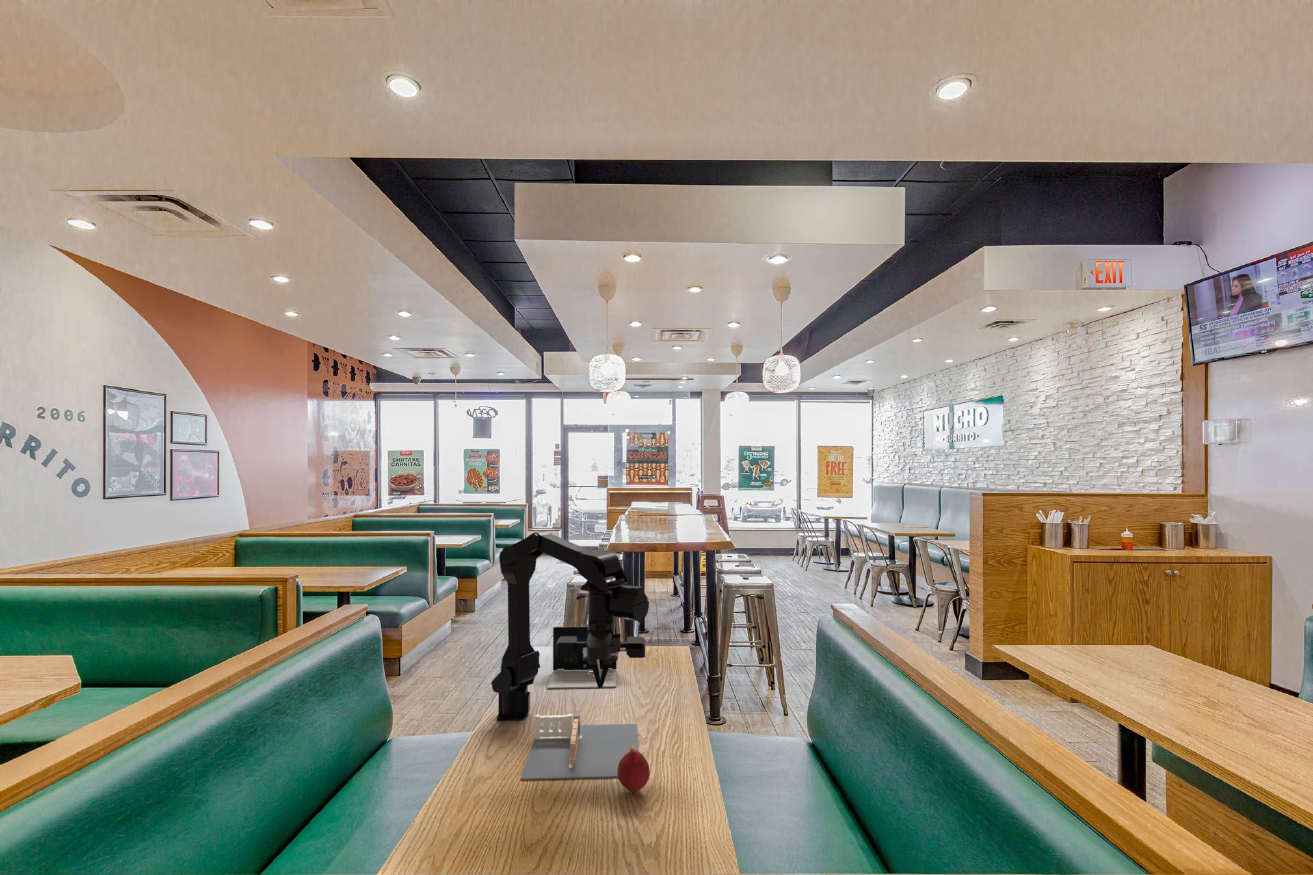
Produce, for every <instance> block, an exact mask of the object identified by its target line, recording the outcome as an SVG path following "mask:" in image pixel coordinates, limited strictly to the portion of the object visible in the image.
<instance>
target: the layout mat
mask: <svg viewBox="0 0 1313 875" xmlns="http://www.w3.org/2000/svg"><path fill="white" fill-rule="evenodd" d="M540 730H544V725H540ZM550 730H553V725H550ZM559 730H561V724H559ZM572 730H573V724H572ZM638 740H639V739H638V724H637V723H621V724H620V723H616V724H615V723H614V724H613V723H612V724H611V723H610V724H607V723H606V724H580V737H579V738H578V745H577V752H576V759H575V764H574V765H570V758H571V749H570V742H571V739H567V737H561V736H558V737H553V736H549V737H544V736H540V739H538V740H535V737H534V738H533V741H532V744H531V748H530V750H529V753H528V757H527V759H526V762H525V765H524V767H523V771H522V773H521V777H520V781H546V780H547V781H548V780H581V779H582V780H583V779H585V780H587V779H589V780H590V779H618V775H617V770H618V765H619V762H620V760H621V759H622V758H623V756H624V755H625V754H627V753H628V752H630V747H631V746H633V747H634V748H635V749H636V750H637V751H638V752H639V747H638V746H639V744H638V743H639V742H638Z"/></svg>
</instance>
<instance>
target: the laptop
mask: <svg viewBox="0 0 1313 875" xmlns="http://www.w3.org/2000/svg"><path fill="white" fill-rule="evenodd" d="M617 627H618V626H616V625H615V634H618V633H617V632H618V628H617ZM587 632H588V625H586V626H584V625H583V626H582V625H581V626H553V628H552V670H553V671H552V672H551V676H550V679H549V681H548V684H547V687H546V688H547V689H550V690H556V689H557V690H558V689H559V690H560V689H561V690H562V689H564V688H566V689H599V688H598V686H597V682H596V679H595V676H593V675H594V673H593V672H589V671H593V670H592V668H591V666H590V664H589V663H588V662H587V661H583V655H584V653H583V651H574V654H573V655H572V656H571V657H570V658H564V657H555V647H556V643H557V641H558V639H559V638H560V637H561V636H577V642H586V635H587ZM617 661H618V660H617ZM617 661H613V662H612V664H611V665H610V667H609V669H608V672H607V675H606V678H605V681H604V684H603V687H602V688H601V689H604V688H605V689H606V688H607V689H608V688H616V687H617V677H616V672H617V668H618V666H617V665H618V663H617ZM599 663H600V675H601V674H602V667H603V660H599ZM588 673H589V674H588ZM609 673H610V674H609ZM617 673H618V672H617Z"/></svg>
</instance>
